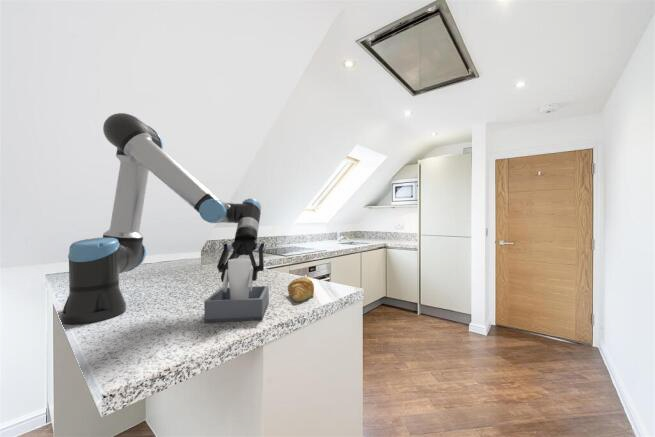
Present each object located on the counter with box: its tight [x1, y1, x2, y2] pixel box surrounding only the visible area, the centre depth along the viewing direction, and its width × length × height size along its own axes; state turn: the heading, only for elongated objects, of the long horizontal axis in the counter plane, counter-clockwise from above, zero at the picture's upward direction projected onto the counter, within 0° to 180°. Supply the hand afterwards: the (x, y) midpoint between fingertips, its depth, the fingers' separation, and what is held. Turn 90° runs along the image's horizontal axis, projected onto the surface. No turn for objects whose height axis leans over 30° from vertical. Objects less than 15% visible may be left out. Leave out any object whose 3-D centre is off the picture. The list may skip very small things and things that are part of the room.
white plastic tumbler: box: [227, 257, 252, 299], centre depth 85 cm, size 7×7×15 cm
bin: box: [203, 285, 270, 324], centre depth 85 cm, size 16×16×6 cm
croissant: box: [287, 276, 315, 302], centre depth 104 cm, size 21×10×8 cm, turn 177°
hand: (237, 289), depth 82 cm, fingers open, 7 cm apart
